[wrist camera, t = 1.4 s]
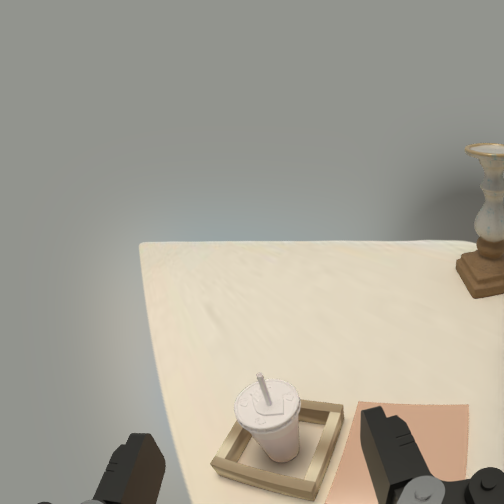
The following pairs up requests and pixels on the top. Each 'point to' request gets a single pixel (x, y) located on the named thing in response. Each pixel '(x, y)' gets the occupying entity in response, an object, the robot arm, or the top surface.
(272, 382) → the smoothie
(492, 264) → the candle holder
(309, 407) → the square wooden tray
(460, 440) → the tile
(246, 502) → the top surface
